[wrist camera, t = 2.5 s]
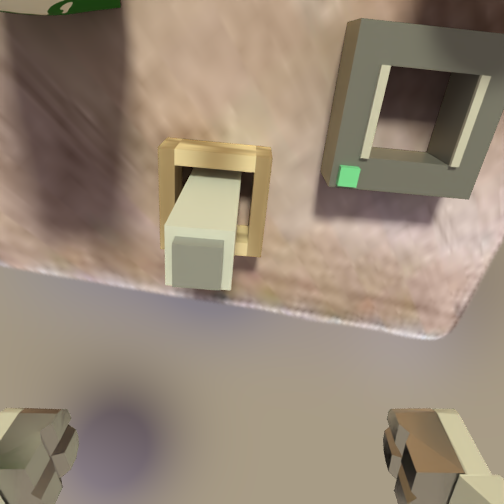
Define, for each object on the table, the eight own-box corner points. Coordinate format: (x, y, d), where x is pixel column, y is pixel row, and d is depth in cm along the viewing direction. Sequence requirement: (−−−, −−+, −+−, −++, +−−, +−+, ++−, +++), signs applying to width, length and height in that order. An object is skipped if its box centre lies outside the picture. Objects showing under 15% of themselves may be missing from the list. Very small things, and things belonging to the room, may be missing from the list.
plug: (193, 210, 34) (161, 294, 22) (194, 166, 32) (160, 233, 20) (238, 214, 34) (229, 299, 22) (241, 171, 32) (234, 239, 20)
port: (320, 171, 32) (329, 189, 28) (347, 22, 27) (364, 17, 23) (445, 183, 32) (472, 202, 28) (495, 38, 27) (537, 36, 23)
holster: (168, 231, 35) (160, 248, 31) (167, 137, 31) (157, 147, 27) (260, 238, 35) (260, 257, 32) (270, 147, 31) (272, 158, 28)
